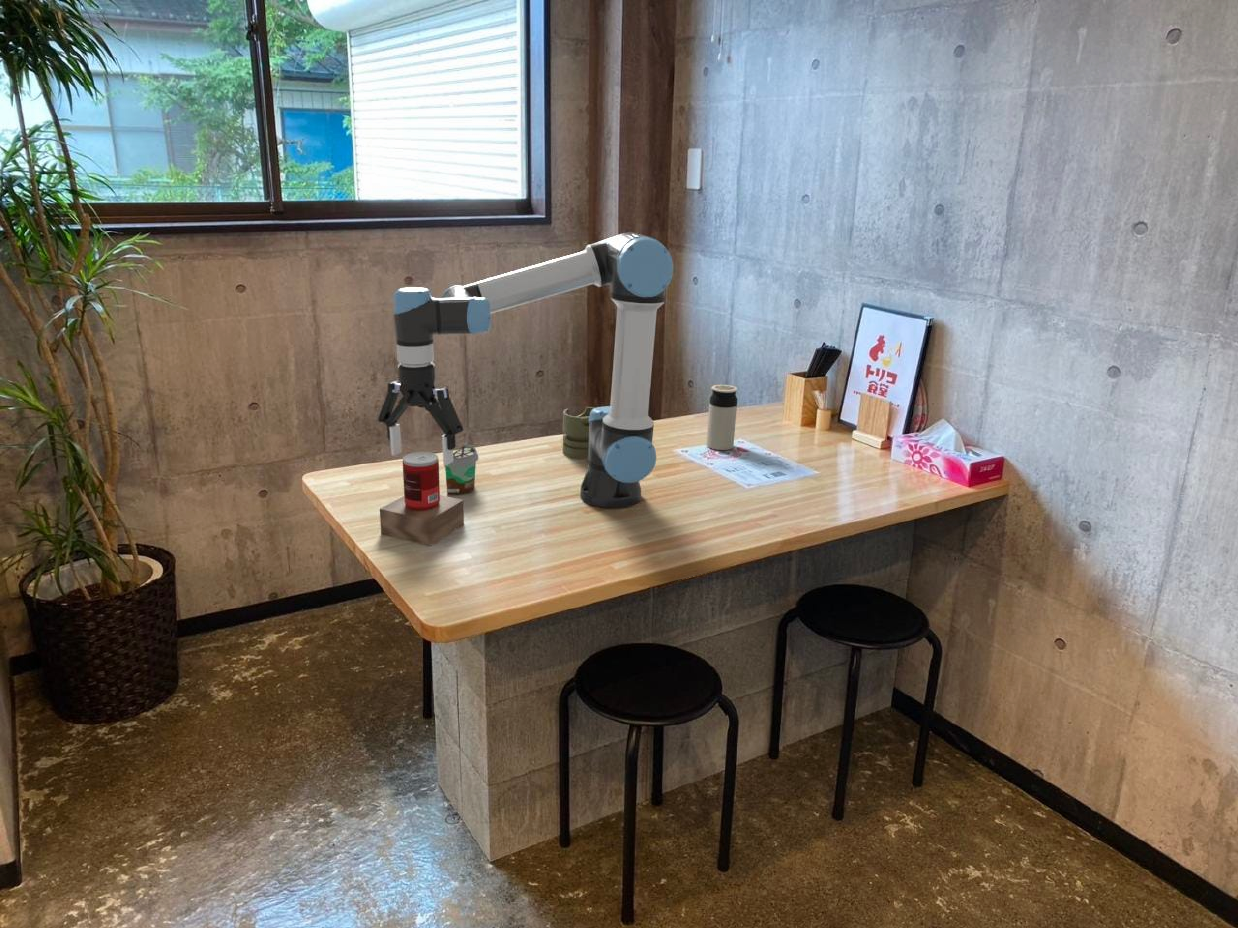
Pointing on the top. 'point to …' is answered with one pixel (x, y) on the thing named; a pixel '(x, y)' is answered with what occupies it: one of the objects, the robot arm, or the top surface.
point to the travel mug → (722, 417)
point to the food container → (461, 471)
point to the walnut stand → (422, 520)
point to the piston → (576, 434)
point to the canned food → (421, 480)
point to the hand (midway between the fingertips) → (422, 458)
